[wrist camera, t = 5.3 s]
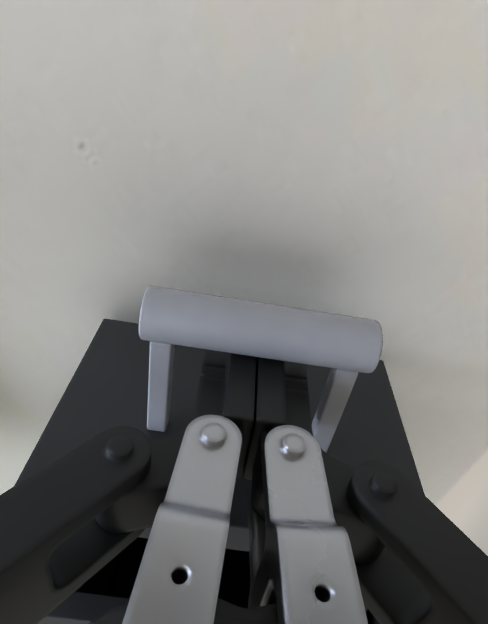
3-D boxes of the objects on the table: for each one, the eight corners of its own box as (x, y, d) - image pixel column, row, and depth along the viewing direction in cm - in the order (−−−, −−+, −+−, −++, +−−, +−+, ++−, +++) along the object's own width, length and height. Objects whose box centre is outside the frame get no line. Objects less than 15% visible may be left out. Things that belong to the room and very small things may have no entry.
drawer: (98, 200, 15) (-32, 349, 8) (429, 254, 15) (542, 433, 9) (111, 507, 25) (56, 677, 19) (307, 533, 26) (319, 708, 19)
